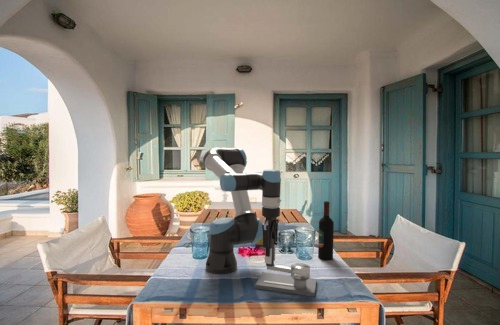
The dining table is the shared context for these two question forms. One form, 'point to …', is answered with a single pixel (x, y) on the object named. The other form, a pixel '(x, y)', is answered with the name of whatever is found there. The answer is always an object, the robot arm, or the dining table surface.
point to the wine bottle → (326, 235)
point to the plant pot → (260, 241)
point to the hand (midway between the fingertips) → (270, 261)
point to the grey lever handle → (290, 268)
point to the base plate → (286, 284)
